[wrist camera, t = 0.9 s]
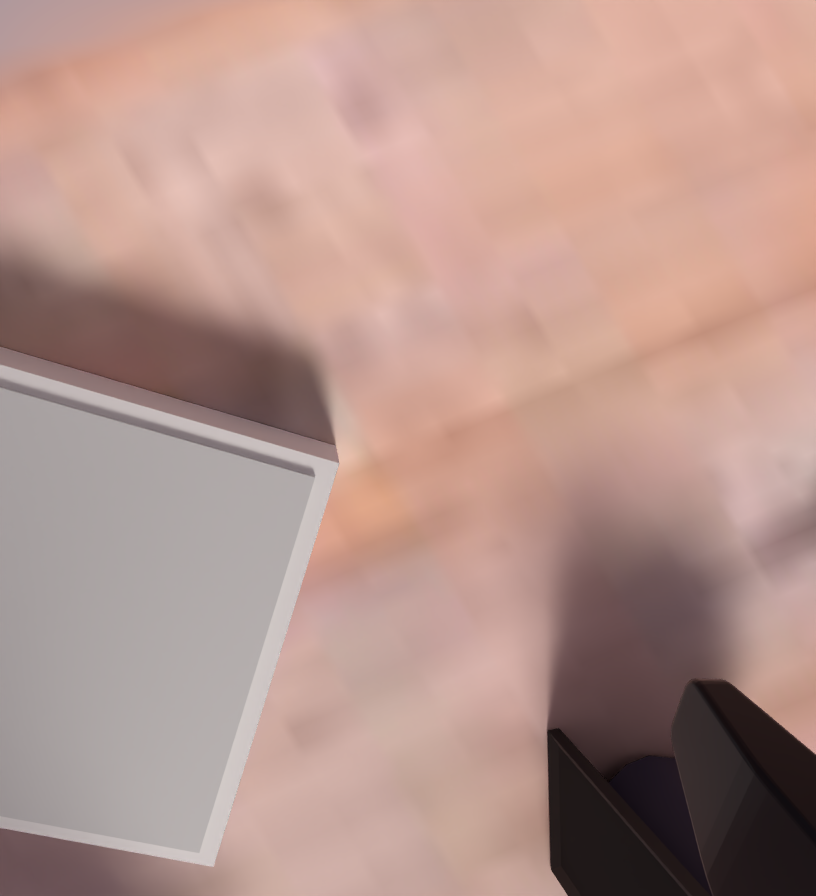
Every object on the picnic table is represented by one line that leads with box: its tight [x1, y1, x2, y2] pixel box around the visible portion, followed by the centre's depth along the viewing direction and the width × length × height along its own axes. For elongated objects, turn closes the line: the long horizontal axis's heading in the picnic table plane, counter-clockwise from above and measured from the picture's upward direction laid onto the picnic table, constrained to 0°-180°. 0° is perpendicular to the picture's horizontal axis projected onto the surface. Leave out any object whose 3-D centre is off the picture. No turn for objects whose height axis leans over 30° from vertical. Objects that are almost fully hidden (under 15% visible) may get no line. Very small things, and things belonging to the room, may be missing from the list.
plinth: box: [0, 347, 339, 867], centre depth 19 cm, size 12×12×3 cm
